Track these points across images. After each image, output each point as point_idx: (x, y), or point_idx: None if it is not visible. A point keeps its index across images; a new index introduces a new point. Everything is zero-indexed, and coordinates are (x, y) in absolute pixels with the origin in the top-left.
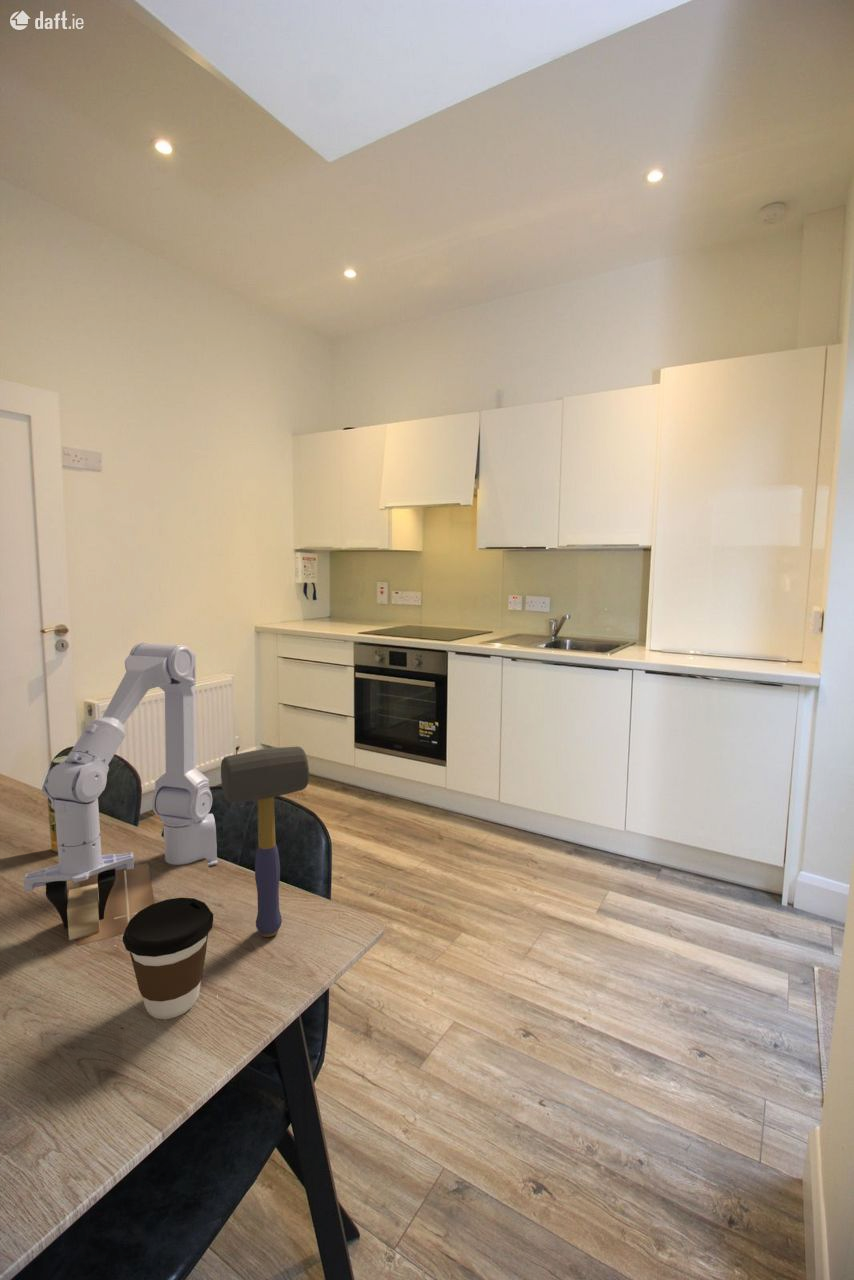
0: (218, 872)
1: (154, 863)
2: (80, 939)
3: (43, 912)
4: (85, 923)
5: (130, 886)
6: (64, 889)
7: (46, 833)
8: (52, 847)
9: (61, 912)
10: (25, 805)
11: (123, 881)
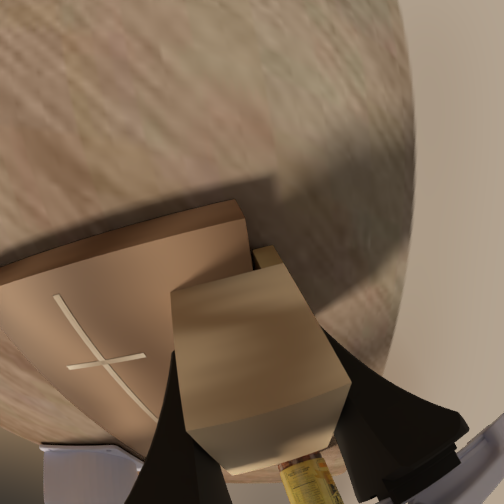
0: (21, 429)
1: None
2: (238, 259)
3: None
4: (232, 322)
5: None
6: (391, 475)
7: None
8: (324, 461)
9: (354, 366)
10: (337, 469)
11: None
